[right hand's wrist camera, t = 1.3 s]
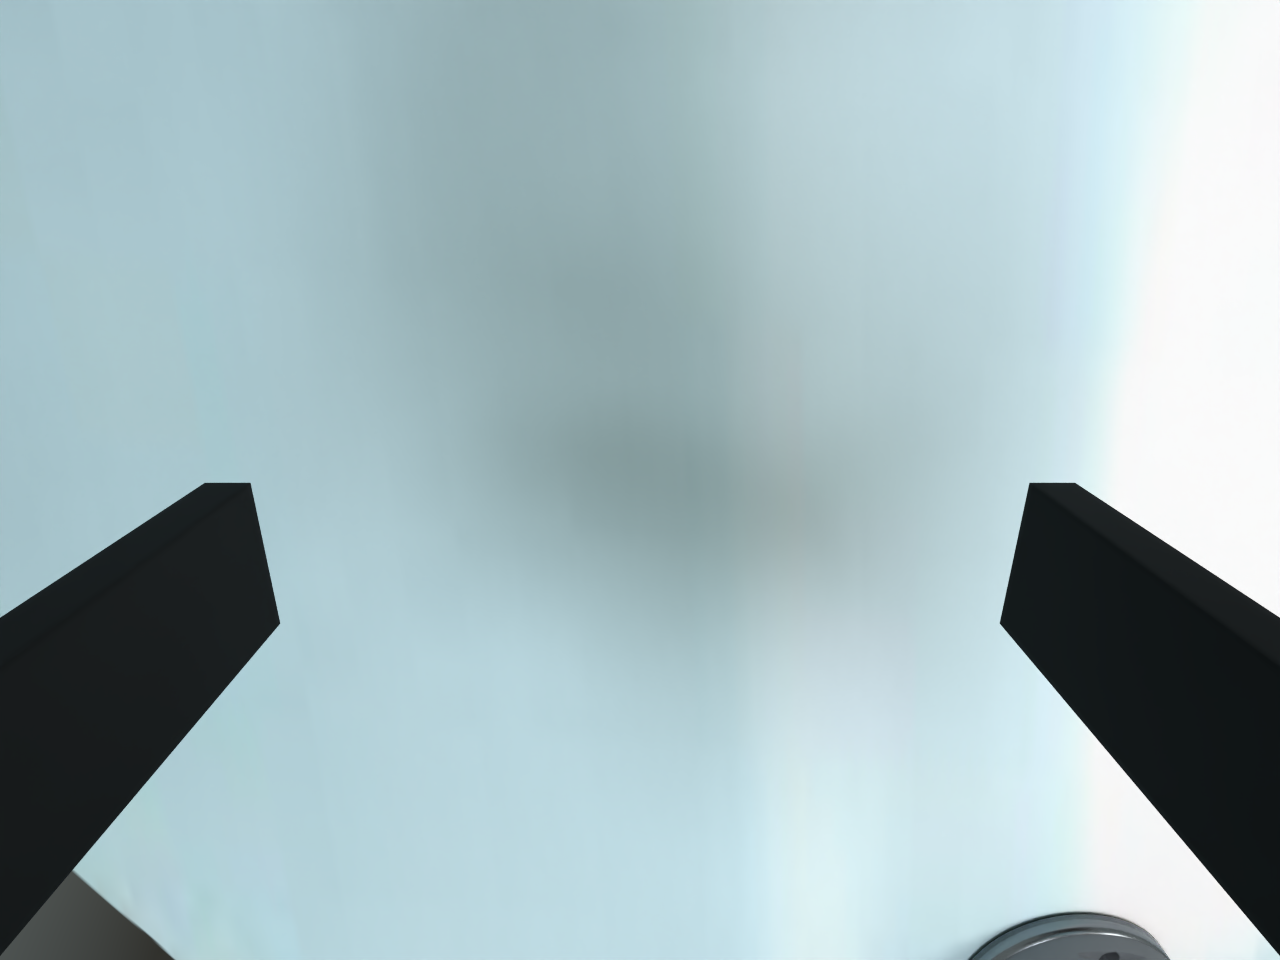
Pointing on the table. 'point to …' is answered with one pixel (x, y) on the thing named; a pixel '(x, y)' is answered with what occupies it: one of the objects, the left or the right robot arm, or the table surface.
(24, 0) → the table surface
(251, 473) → the table surface
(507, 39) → the table surface
